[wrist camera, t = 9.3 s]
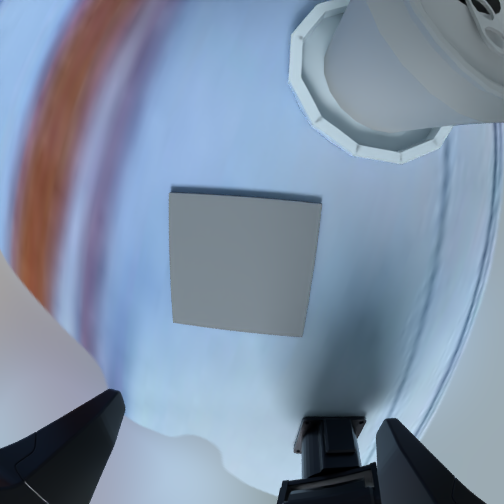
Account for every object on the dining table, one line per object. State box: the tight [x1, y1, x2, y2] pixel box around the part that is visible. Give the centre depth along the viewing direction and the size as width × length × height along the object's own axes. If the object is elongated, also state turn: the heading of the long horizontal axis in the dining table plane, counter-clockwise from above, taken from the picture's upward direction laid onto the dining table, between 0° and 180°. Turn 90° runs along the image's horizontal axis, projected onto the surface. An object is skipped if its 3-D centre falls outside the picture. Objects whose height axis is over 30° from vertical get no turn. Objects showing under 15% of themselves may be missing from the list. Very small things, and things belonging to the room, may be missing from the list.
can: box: [324, 0, 504, 133], centre depth 9 cm, size 8×8×12 cm
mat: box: [169, 192, 322, 337], centre depth 21 cm, size 10×10×1 cm
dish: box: [288, 0, 453, 164], centre depth 15 cm, size 11×11×2 cm
